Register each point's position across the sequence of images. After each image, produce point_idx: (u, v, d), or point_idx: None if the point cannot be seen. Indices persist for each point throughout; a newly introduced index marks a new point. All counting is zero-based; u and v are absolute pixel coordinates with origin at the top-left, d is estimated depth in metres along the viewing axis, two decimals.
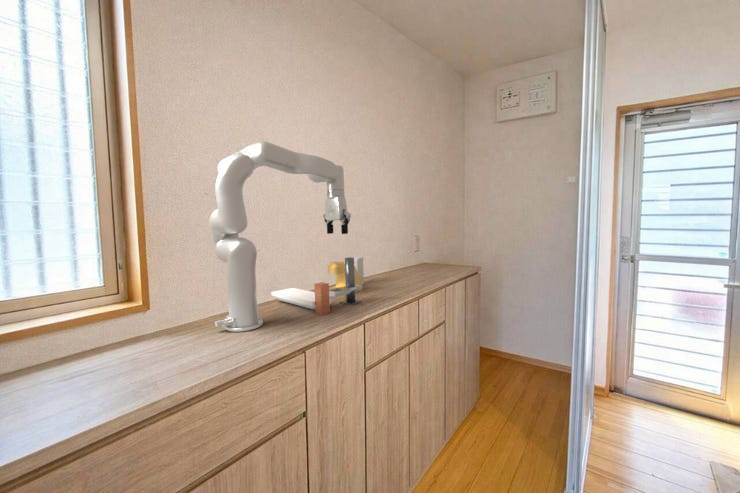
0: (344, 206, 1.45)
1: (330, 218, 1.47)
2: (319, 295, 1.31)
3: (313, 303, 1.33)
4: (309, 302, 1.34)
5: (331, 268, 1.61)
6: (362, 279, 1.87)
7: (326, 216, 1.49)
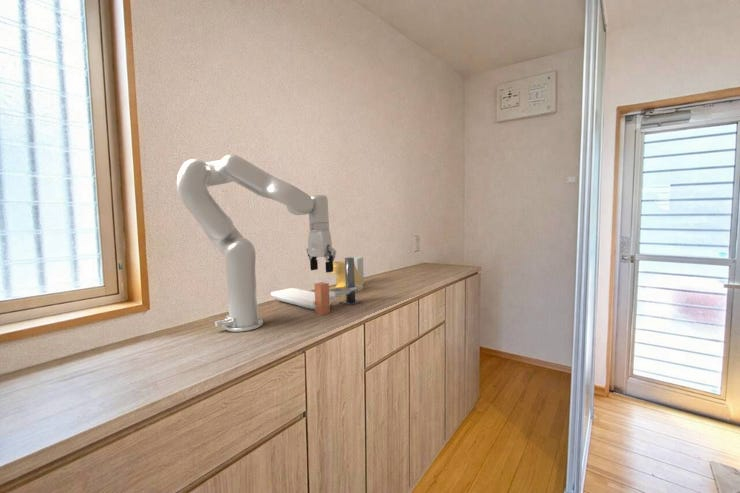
0: (328, 241, 1.28)
1: (313, 254, 1.31)
2: (319, 295, 1.31)
3: (314, 303, 1.33)
4: (310, 302, 1.34)
5: None
6: (362, 279, 1.87)
7: (309, 251, 1.33)
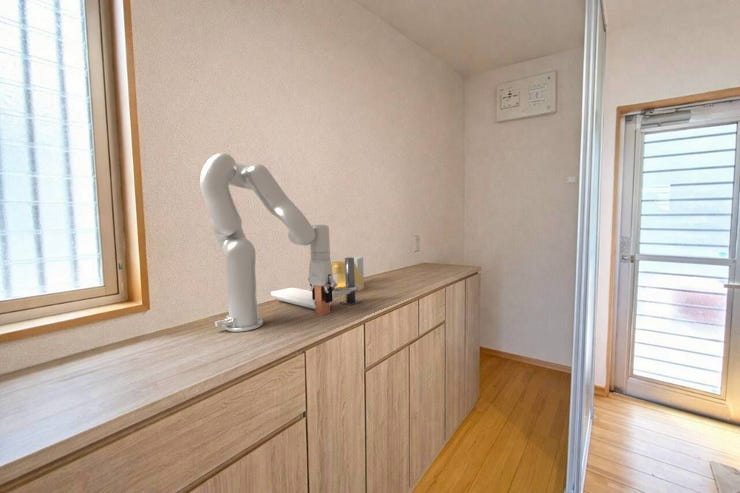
0: (329, 270, 1.30)
1: (314, 283, 1.32)
2: (320, 295, 1.31)
3: (314, 302, 1.33)
4: (310, 302, 1.34)
5: (333, 268, 1.62)
6: (362, 279, 1.87)
7: (310, 280, 1.34)
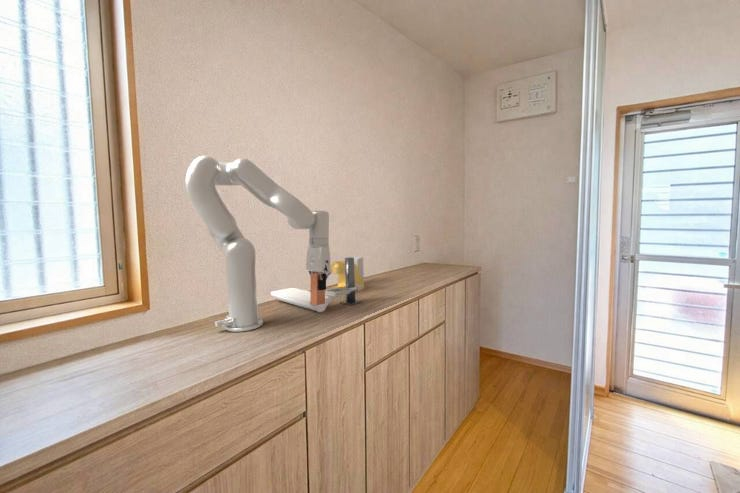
0: (327, 257, 1.29)
1: (311, 269, 1.31)
2: (315, 285, 1.30)
3: (310, 303, 1.33)
4: (306, 302, 1.34)
5: (333, 267, 1.62)
6: None
7: (307, 266, 1.33)
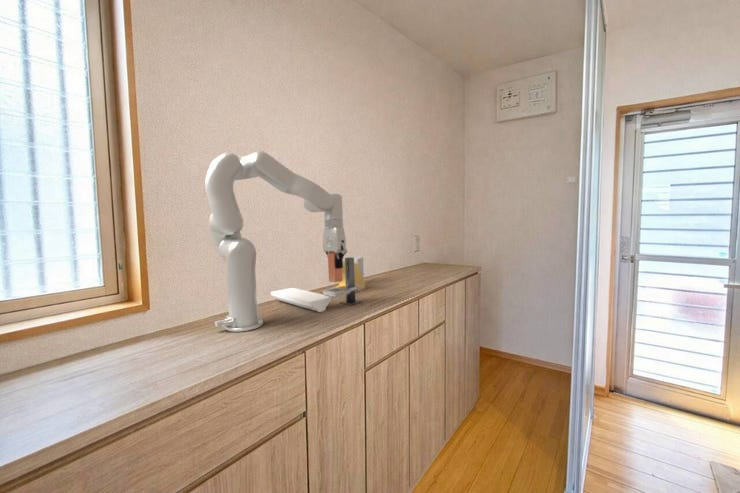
0: (343, 237, 1.38)
1: (328, 249, 1.40)
2: (333, 263, 1.39)
3: (310, 303, 1.33)
4: (306, 302, 1.34)
5: None
6: None
7: (324, 246, 1.42)
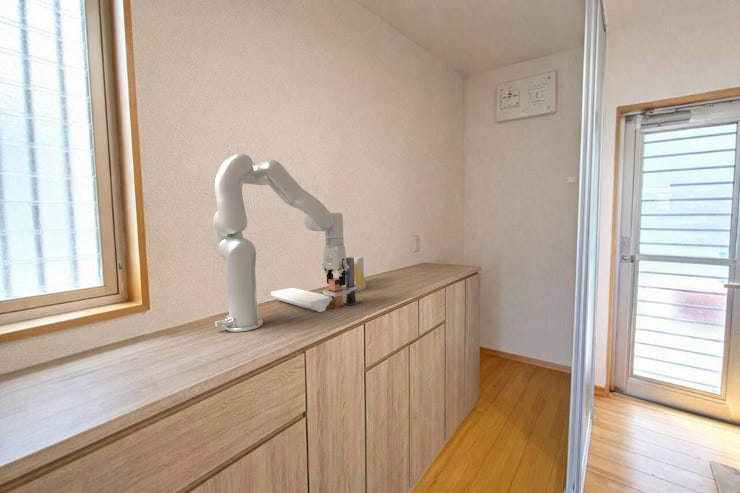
0: (343, 255, 1.38)
1: (328, 267, 1.40)
2: (333, 290, 1.40)
3: (310, 303, 1.33)
4: (306, 302, 1.34)
5: None
6: None
7: (324, 264, 1.42)
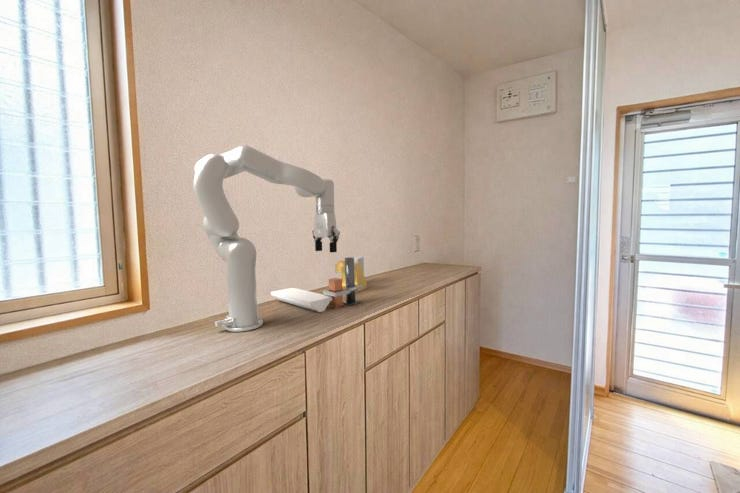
0: (333, 223, 1.36)
1: (318, 235, 1.38)
2: (333, 290, 1.40)
3: (310, 303, 1.33)
4: (307, 302, 1.34)
5: (339, 267, 1.63)
6: None
7: (314, 233, 1.40)
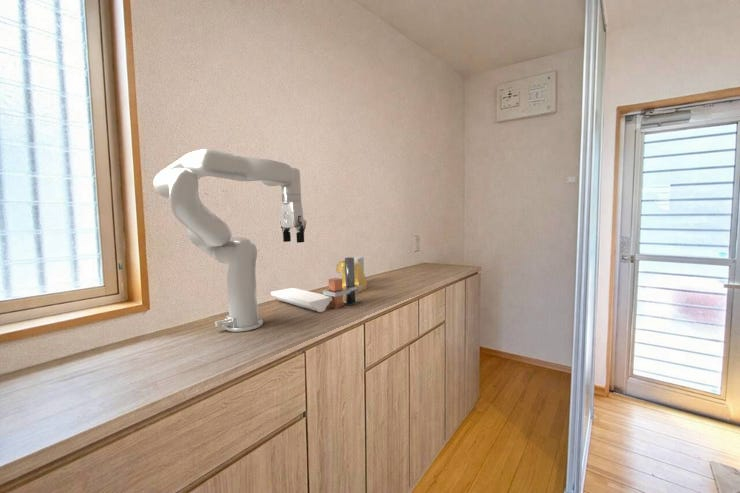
0: (300, 212, 1.33)
1: (285, 225, 1.35)
2: (333, 290, 1.40)
3: (310, 303, 1.33)
4: (307, 302, 1.34)
5: (341, 267, 1.63)
6: None
7: (281, 223, 1.37)
